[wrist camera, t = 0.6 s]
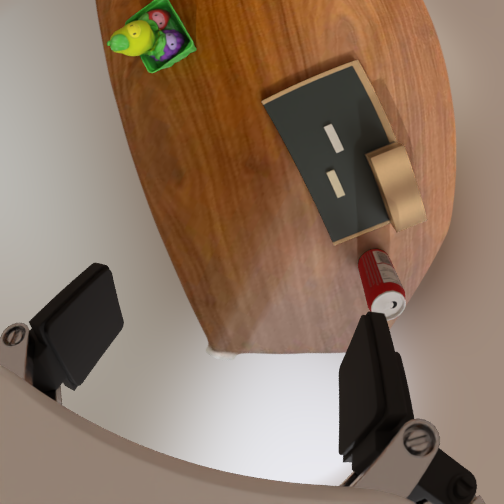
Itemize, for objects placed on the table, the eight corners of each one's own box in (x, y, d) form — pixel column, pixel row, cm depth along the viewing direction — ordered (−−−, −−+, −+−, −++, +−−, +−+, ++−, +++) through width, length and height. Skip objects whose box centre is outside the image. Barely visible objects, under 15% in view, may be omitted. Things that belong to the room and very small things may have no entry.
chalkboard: (262, 101, 35) (260, 101, 34) (356, 60, 29) (357, 59, 28) (333, 242, 43) (334, 245, 42) (418, 208, 37) (420, 211, 36)
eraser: (363, 153, 35) (370, 158, 31) (393, 140, 33) (404, 144, 29) (388, 220, 38) (396, 233, 34) (416, 209, 36) (427, 220, 32)
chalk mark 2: (326, 172, 37) (326, 173, 37) (333, 169, 37) (334, 169, 36) (337, 197, 38) (337, 198, 38) (344, 194, 38) (345, 195, 38)
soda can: (357, 277, 45) (368, 325, 34) (357, 249, 42) (370, 293, 32) (388, 274, 43) (405, 321, 33) (389, 246, 41) (410, 288, 31)
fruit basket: (208, 51, 32) (174, 34, 22) (160, 82, 35) (117, 78, 26) (178, 3, 28) (142, -20, 18) (134, 33, 31) (91, 21, 22)
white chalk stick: (323, 126, 34) (323, 127, 34) (331, 123, 34) (331, 123, 33) (336, 152, 35) (336, 153, 35) (343, 149, 35) (344, 149, 35)
